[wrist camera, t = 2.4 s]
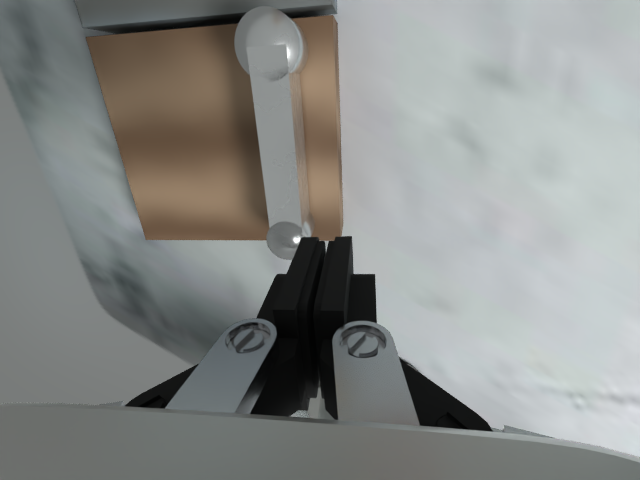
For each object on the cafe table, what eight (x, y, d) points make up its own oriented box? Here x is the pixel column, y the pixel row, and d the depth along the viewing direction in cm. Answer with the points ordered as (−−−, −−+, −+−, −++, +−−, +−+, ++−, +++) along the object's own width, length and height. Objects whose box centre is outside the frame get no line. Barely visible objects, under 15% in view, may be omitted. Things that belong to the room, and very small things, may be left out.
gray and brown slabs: (343, 224, 27) (337, 253, 22) (166, 224, 29) (129, 251, 24) (326, -361, 15) (308, -547, 11) (30, -289, 17) (-89, -419, 13)
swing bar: (249, 19, 19) (229, 9, 16) (306, 14, 18) (295, 3, 16) (275, 239, 24) (264, 259, 22) (320, 239, 24) (313, 260, 21)
